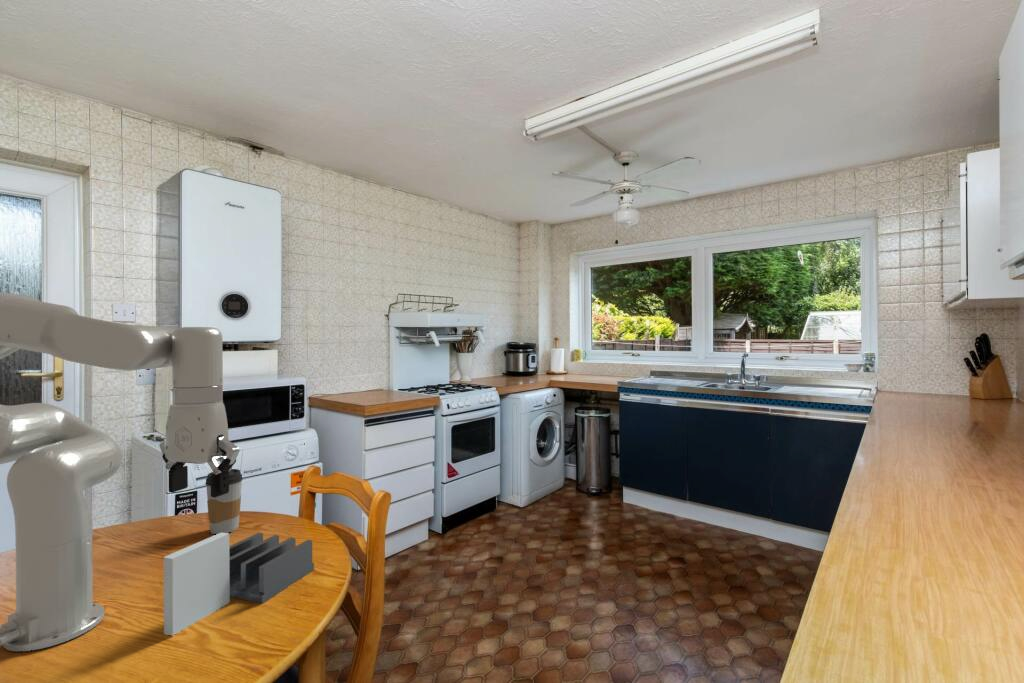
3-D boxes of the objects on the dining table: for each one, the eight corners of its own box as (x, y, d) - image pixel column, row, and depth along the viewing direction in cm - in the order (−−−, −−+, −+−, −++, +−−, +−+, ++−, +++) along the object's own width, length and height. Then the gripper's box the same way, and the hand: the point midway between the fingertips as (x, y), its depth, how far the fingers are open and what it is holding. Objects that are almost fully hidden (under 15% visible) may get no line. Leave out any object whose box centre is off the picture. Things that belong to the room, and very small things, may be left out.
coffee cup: (250, 526, 129) (250, 469, 129) (223, 538, 121) (223, 478, 121) (225, 523, 131) (224, 467, 131) (197, 535, 123) (197, 475, 123)
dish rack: (262, 603, 91) (262, 568, 91) (203, 591, 95) (203, 558, 95) (314, 569, 104) (313, 539, 104) (260, 560, 108) (260, 531, 108)
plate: (172, 636, 81) (172, 558, 81) (164, 634, 81) (163, 557, 81) (229, 602, 91) (229, 533, 91) (221, 601, 92) (221, 532, 92)
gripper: (141, 397, 85) (141, 494, 85) (217, 400, 80) (217, 504, 80) (181, 392, 92) (182, 482, 92) (253, 395, 87) (254, 490, 87)
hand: (198, 492), depth 86 cm, fingers open, 9 cm apart
